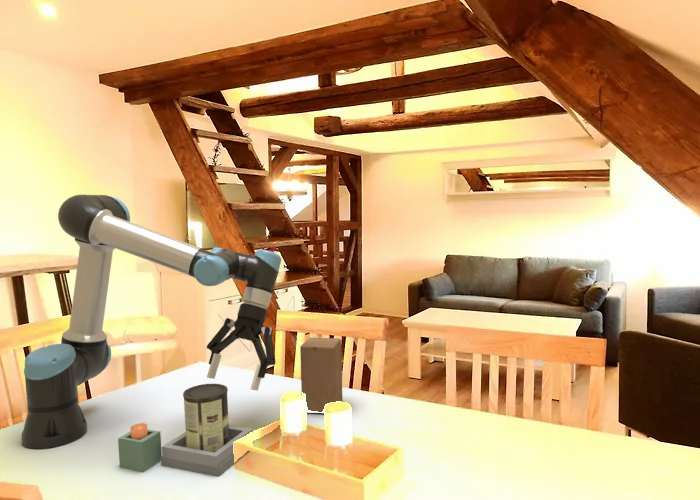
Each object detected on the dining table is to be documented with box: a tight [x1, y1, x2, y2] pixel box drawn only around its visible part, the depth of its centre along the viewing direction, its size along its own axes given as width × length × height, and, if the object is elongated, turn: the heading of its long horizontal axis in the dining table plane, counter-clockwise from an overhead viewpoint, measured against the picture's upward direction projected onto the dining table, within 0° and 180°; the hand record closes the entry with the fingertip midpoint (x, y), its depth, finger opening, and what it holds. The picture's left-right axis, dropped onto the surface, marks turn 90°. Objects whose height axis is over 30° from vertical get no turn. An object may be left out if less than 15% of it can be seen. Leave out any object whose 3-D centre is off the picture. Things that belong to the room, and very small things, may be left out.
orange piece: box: [130, 423, 149, 440], centre depth 122 cm, size 4×4×5 cm
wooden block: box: [299, 337, 343, 412], centre depth 153 cm, size 10×10×20 cm
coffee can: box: [182, 383, 230, 452], centre depth 125 cm, size 10×10×14 cm
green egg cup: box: [117, 428, 162, 473], centre depth 122 cm, size 7×6×7 cm
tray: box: [160, 425, 253, 477], centre depth 125 cm, size 16×15×4 cm
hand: (231, 384), depth 137 cm, fingers open, 13 cm apart
